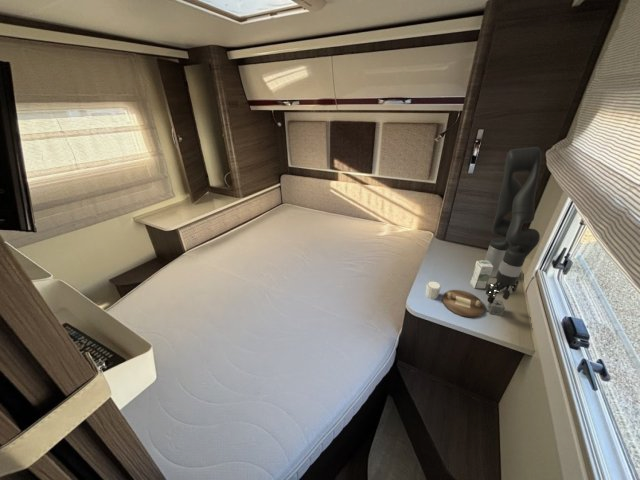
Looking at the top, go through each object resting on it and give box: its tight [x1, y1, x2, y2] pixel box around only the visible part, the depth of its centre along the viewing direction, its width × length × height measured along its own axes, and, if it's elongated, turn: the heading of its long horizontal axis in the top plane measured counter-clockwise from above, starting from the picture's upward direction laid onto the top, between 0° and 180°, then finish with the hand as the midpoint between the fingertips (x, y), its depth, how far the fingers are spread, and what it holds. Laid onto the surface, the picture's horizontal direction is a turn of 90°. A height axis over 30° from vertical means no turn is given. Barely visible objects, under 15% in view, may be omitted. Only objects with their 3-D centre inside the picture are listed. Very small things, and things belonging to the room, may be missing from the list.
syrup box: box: [469, 260, 493, 290], centre depth 137 cm, size 6×6×14 cm
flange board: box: [441, 289, 485, 319], centre depth 127 cm, size 18×18×4 cm
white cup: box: [425, 280, 442, 300], centre depth 133 cm, size 7×7×7 cm
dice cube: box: [487, 299, 506, 317], centre depth 122 cm, size 5×5×5 cm
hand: (497, 300), depth 120 cm, fingers open, 8 cm apart
